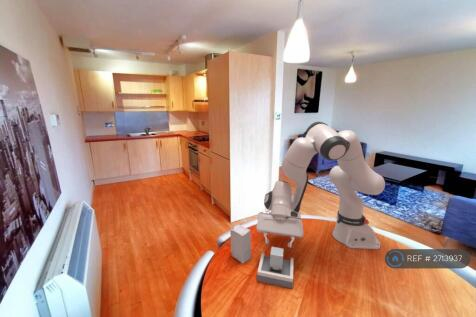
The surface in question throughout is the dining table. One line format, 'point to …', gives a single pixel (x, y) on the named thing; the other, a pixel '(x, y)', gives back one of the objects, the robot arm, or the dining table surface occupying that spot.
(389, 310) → the dining table surface
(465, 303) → the dining table surface
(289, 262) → the dock
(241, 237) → the skincare box
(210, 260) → the dining table surface
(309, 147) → the robot arm
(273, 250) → the white footed cube
